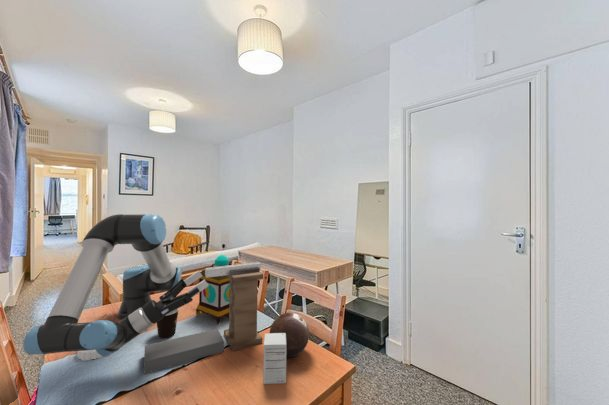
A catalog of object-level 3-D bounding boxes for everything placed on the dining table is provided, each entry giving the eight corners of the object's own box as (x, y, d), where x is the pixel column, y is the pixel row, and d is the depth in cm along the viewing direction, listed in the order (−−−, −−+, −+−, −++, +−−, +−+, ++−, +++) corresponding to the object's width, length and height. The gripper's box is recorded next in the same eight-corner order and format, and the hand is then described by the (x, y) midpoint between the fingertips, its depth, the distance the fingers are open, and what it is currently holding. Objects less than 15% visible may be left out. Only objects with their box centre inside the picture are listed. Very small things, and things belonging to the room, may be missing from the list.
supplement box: (264, 369, 89) (264, 332, 89) (285, 368, 90) (286, 332, 90) (262, 384, 82) (263, 344, 82) (286, 383, 82) (286, 344, 82)
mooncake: (120, 352, 98) (120, 342, 98) (78, 365, 90) (78, 355, 90) (115, 339, 107) (115, 330, 107) (76, 351, 98) (76, 341, 98)
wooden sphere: (312, 364, 92) (312, 322, 92) (269, 368, 90) (270, 324, 90) (305, 341, 107) (305, 305, 107) (268, 344, 105) (269, 307, 105)
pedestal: (223, 334, 111) (224, 266, 111) (250, 328, 118) (251, 263, 118) (232, 351, 99) (234, 274, 99) (262, 342, 106) (263, 270, 106)
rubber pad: (144, 356, 95) (144, 345, 95) (217, 338, 109) (217, 328, 109) (144, 373, 86) (144, 361, 86) (223, 351, 99) (224, 340, 99)
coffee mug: (168, 341, 106) (168, 316, 106) (150, 338, 108) (150, 314, 107) (186, 327, 117) (187, 305, 117) (170, 325, 119) (170, 303, 119)
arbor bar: (205, 275, 102) (205, 268, 102) (258, 268, 113) (258, 262, 113) (206, 277, 99) (206, 269, 99) (260, 270, 111) (260, 263, 111)
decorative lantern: (249, 311, 135) (250, 254, 135) (218, 326, 119) (219, 261, 119) (223, 302, 146) (224, 249, 146) (191, 315, 129) (192, 255, 129)
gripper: (153, 310, 102) (203, 276, 111) (153, 340, 81) (215, 295, 90) (142, 295, 100) (193, 262, 110) (139, 322, 79) (203, 278, 88)
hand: (203, 277), depth 100 cm, fingers open, 13 cm apart
